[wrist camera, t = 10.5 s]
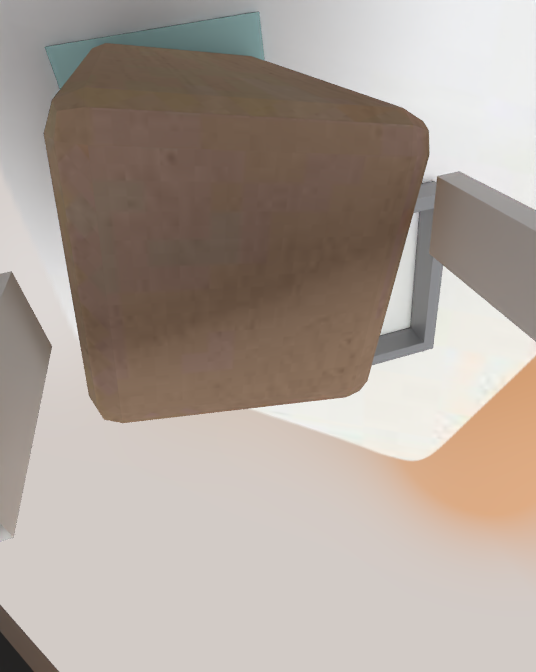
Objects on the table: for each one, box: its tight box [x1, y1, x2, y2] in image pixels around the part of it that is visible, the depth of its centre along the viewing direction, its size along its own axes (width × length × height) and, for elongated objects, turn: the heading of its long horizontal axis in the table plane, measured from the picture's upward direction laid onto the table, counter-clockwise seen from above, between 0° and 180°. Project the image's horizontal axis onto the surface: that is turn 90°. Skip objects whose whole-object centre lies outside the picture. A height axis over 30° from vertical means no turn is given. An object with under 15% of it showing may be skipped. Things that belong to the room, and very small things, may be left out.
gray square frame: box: [372, 181, 443, 365], centre depth 38 cm, size 15×15×2 cm
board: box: [45, 12, 264, 89], centre depth 29 cm, size 12×12×1 cm
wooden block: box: [44, 43, 429, 423], centre depth 21 cm, size 10×10×20 cm
